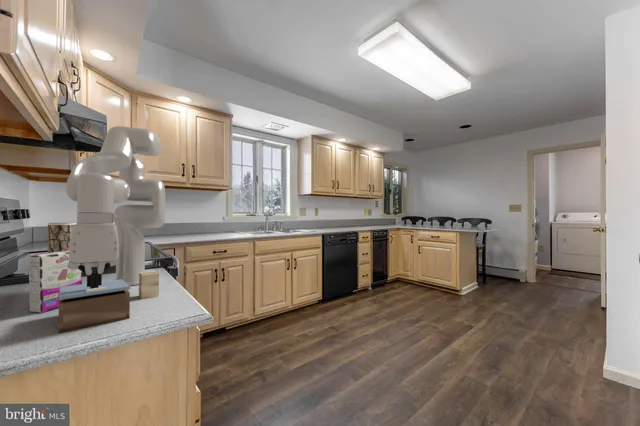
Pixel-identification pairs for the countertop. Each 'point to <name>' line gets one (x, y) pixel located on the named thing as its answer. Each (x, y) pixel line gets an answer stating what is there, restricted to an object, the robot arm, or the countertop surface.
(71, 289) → the box lid
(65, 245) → the bark log
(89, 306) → the walnut box
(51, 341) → the countertop surface
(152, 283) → the birch block
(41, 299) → the candy bar box
